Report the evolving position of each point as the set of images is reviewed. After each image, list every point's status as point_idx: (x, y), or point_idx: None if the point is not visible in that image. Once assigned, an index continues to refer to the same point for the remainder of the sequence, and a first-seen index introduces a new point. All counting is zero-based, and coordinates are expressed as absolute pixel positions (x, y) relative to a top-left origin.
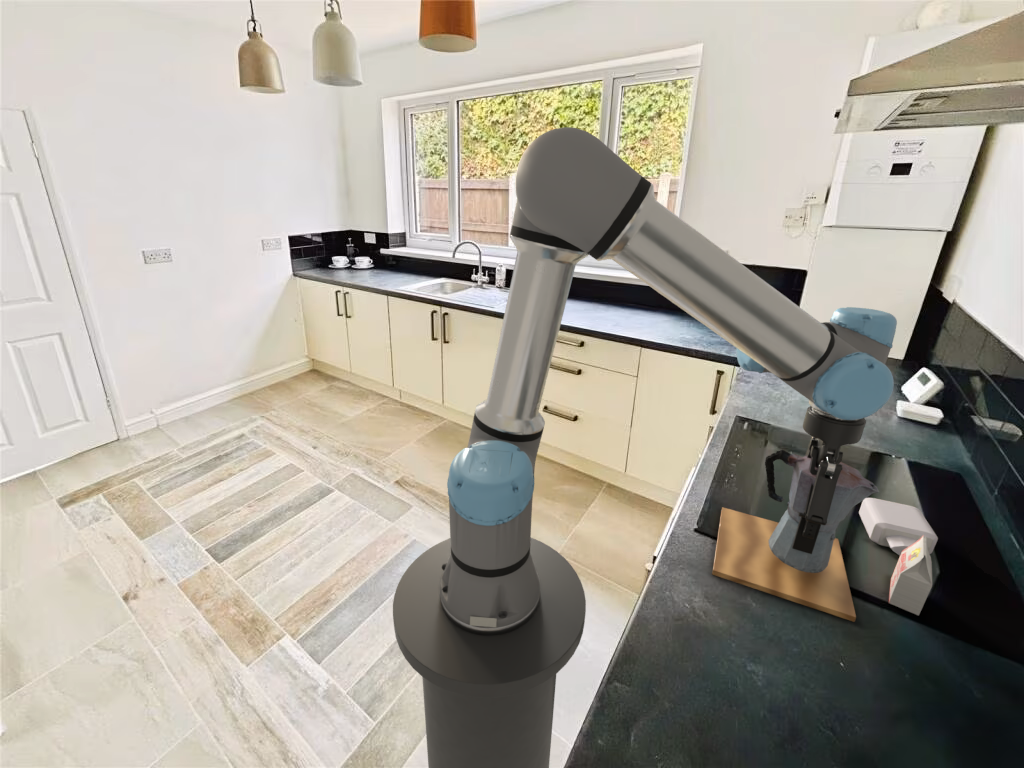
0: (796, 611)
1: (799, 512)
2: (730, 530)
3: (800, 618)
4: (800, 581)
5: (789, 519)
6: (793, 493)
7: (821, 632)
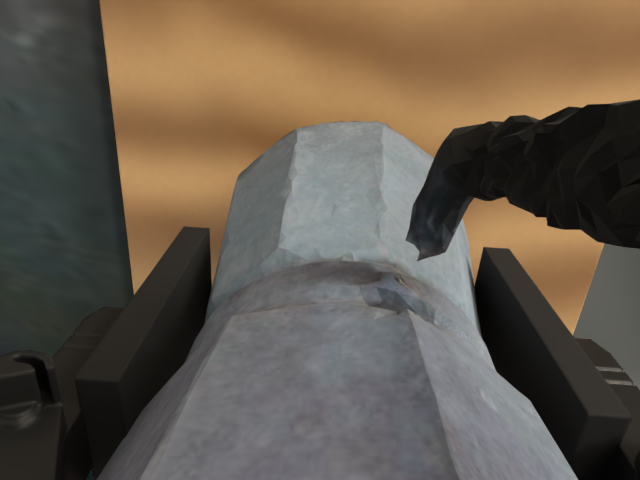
0: (88, 190)
1: (3, 378)
2: None
3: (62, 198)
4: (224, 223)
5: (275, 255)
6: (261, 394)
7: (41, 249)
